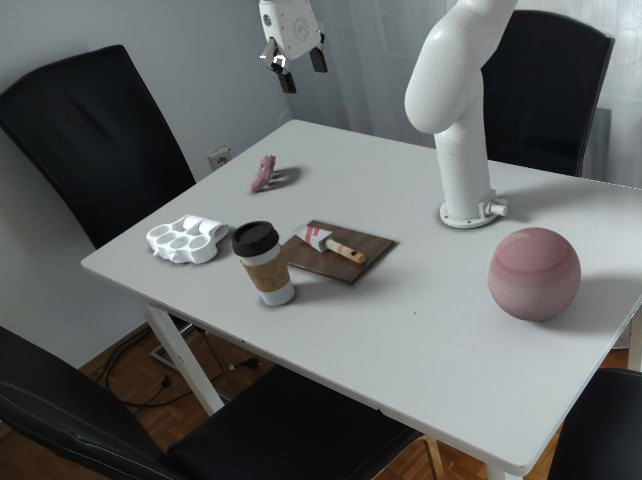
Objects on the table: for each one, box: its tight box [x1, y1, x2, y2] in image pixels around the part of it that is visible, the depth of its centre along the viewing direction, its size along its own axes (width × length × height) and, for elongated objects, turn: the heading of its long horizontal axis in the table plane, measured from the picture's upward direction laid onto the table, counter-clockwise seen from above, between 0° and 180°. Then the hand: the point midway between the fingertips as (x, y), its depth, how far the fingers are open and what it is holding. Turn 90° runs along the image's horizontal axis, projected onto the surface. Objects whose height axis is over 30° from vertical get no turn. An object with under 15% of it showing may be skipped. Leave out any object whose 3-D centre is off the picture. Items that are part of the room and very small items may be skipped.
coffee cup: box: [230, 220, 295, 307], centre depth 116 cm, size 8×8×15 cm
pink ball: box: [486, 226, 582, 322], centre depth 103 cm, size 15×15×15 cm
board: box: [281, 219, 395, 286], centre depth 129 cm, size 22×14×1 cm, turn 57°
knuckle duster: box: [146, 214, 230, 265], centre depth 138 cm, size 3×18×15 cm
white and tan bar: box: [291, 224, 366, 264], centre depth 128 cm, size 4×3×20 cm
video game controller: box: [249, 154, 277, 193], centre depth 153 cm, size 10×5×7 cm, turn 179°
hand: (306, 82), depth 126 cm, fingers open, 9 cm apart
